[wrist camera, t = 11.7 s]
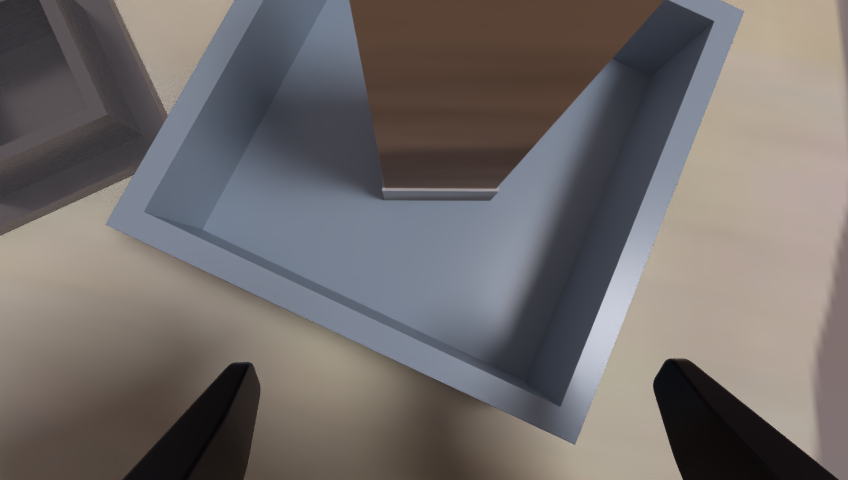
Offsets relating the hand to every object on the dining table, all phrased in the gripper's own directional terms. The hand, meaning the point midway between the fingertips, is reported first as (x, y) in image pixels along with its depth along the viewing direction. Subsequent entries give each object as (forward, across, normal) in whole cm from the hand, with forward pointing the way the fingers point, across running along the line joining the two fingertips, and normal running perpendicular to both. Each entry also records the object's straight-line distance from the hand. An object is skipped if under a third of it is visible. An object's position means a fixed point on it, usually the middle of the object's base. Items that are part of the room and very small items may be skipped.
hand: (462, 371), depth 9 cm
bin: (+11, 0, 0) cm, 11 cm away
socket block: (+12, +16, -1) cm, 20 cm away
